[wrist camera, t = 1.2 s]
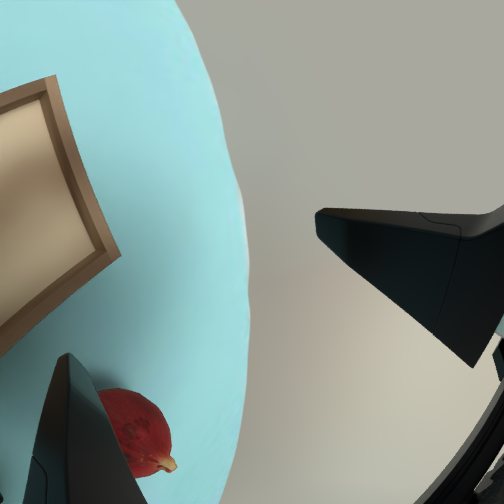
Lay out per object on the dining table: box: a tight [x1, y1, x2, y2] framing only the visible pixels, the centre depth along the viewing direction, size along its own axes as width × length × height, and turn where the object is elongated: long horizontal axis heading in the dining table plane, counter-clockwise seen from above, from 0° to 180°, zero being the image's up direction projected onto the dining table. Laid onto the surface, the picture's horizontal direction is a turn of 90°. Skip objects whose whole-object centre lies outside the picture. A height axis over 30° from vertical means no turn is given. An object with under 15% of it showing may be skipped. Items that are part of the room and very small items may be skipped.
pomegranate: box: [97, 388, 177, 478], centre depth 15 cm, size 6×6×8 cm
